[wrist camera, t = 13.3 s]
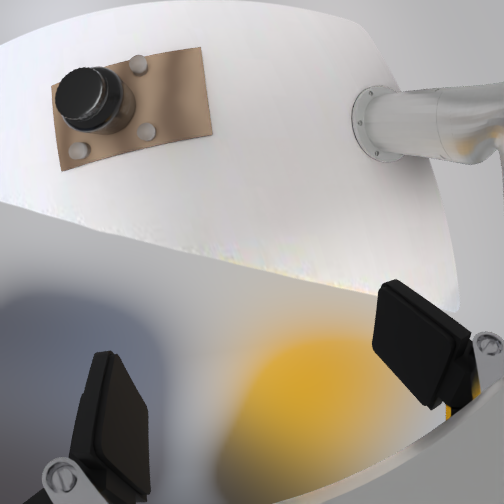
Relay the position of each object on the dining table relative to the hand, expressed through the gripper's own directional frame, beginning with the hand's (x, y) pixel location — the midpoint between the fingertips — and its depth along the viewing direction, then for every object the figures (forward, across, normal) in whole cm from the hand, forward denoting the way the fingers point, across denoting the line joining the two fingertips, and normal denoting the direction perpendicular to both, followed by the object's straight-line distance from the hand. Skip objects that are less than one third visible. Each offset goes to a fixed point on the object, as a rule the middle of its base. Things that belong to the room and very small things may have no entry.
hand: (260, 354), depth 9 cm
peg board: (+30, +7, -14) cm, 34 cm away
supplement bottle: (+29, +9, -14) cm, 33 cm away
